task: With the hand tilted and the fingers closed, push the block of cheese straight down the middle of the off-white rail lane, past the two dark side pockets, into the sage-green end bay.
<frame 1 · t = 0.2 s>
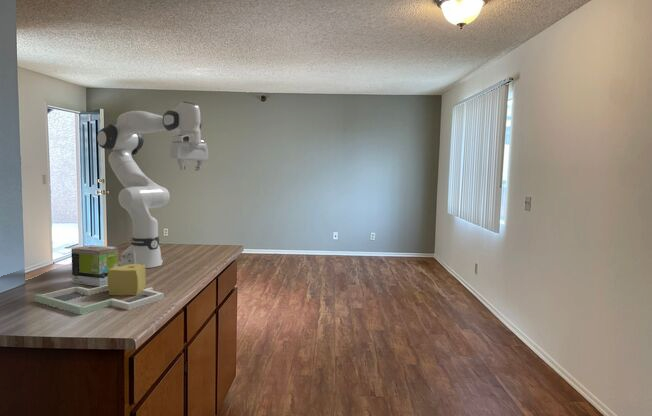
hand: (190, 170, 180), 47 cm above the table, tool pointing down, fingers open, 8 cm apart
tea box: (95, 282, 168), on the table
cheese: (128, 292, 156), on the table
lane: (104, 298, 147), on the table
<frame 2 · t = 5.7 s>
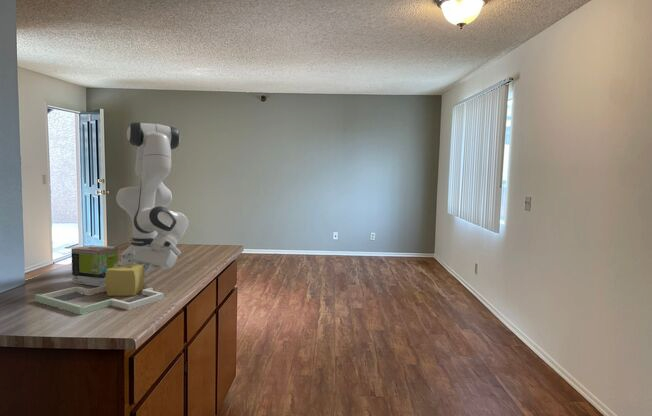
hand: (142, 274, 161), 5 cm above the table, tool tilted 45°, fingers closed
cheese: (126, 292, 155), on the table, touching gripper
everything else where it was.
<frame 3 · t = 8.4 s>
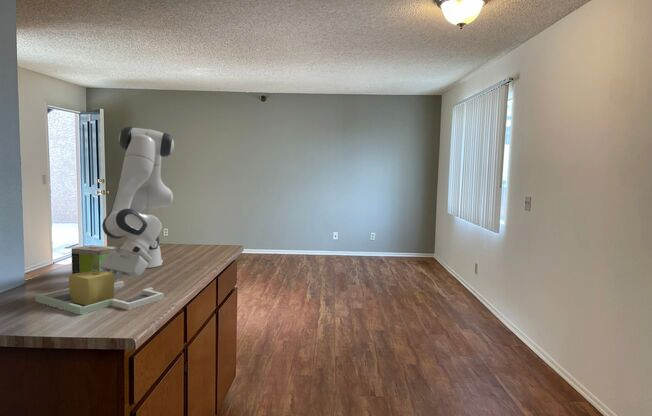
hand: (109, 282, 148), 5 cm above the table, tool tilted 45°, fingers closed, pressing on cheese
cheese: (92, 301, 144), on the table, touching gripper
everything else where it was.
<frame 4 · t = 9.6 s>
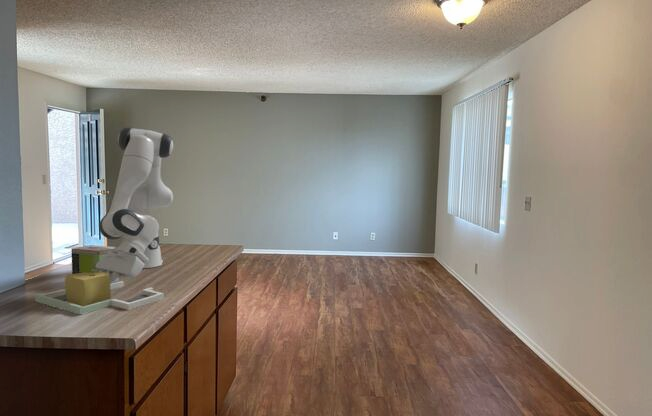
hand: (105, 283, 147), 5 cm above the table, tool tilted 45°, fingers closed
cheese: (89, 302, 143), on the table
everything else where it was.
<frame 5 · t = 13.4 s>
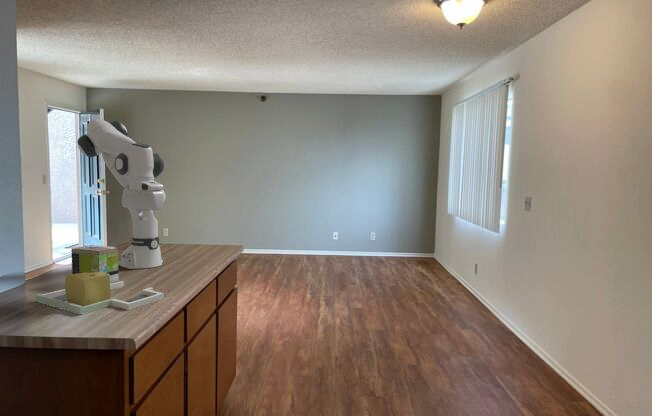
hand: (142, 220, 159), 27 cm above the table, tool pointing down, fingers closed
nothing on the table moved.
at the end: cheese inside the target area (1.7 cm from its centre), on the table; cheese tilted 0°; cheese moved 14.7 cm from its start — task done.
